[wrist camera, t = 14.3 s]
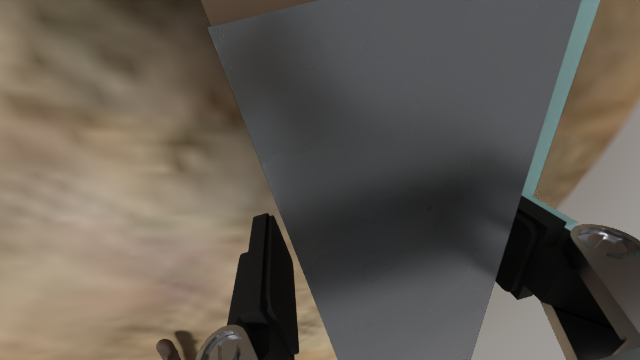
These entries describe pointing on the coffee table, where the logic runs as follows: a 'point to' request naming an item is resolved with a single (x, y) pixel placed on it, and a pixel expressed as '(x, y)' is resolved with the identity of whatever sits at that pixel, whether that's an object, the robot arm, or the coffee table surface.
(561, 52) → the steel bar
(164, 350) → the bear figurine
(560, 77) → the slot holder
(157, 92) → the coffee table surface
